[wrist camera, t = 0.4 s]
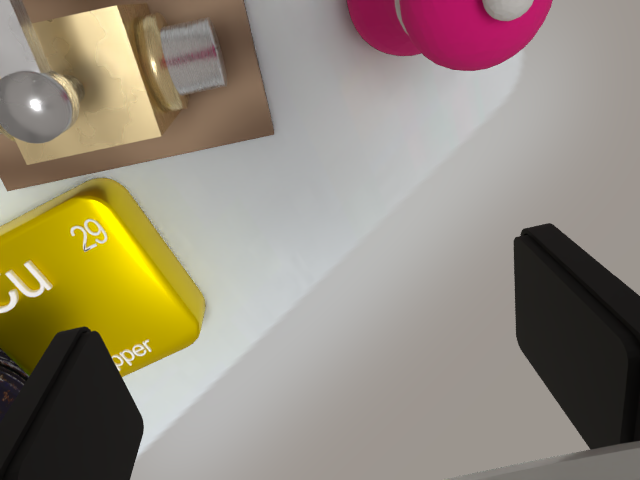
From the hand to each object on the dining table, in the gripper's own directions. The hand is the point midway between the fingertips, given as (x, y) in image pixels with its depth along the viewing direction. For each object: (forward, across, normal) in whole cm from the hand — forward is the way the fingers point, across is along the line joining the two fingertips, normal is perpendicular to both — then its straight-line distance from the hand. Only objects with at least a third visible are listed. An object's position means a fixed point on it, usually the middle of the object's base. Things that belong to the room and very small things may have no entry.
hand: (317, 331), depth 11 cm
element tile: (+29, +20, +12) cm, 37 cm away
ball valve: (+27, +11, -4) cm, 30 cm away
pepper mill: (+29, -9, -5) cm, 31 cm away
